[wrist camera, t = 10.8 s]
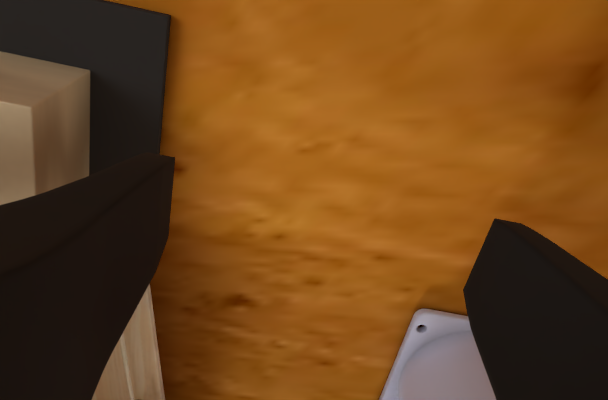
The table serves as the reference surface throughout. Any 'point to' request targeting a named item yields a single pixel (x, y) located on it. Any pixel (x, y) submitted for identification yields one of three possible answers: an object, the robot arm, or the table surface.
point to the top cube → (42, 126)
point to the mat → (100, 65)
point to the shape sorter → (134, 360)
